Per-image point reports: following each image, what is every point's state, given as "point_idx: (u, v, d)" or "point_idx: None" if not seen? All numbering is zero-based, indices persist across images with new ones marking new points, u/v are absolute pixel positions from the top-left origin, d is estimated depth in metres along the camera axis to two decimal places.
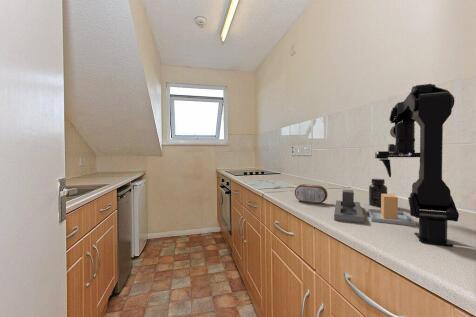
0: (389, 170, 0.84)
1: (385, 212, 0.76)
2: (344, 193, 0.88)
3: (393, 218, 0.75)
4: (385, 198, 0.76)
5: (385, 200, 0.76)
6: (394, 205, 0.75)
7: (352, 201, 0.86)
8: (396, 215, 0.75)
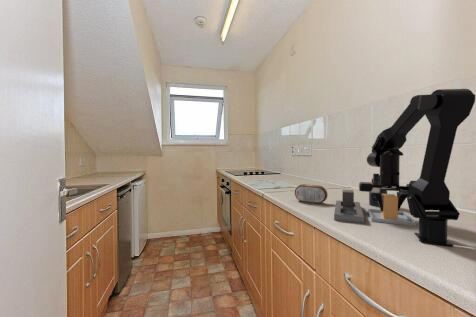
0: (381, 204, 0.78)
1: (385, 212, 0.76)
2: (344, 193, 0.88)
3: (393, 218, 0.75)
4: (385, 198, 0.76)
5: (385, 200, 0.76)
6: (394, 205, 0.75)
7: (352, 201, 0.86)
8: (396, 215, 0.75)
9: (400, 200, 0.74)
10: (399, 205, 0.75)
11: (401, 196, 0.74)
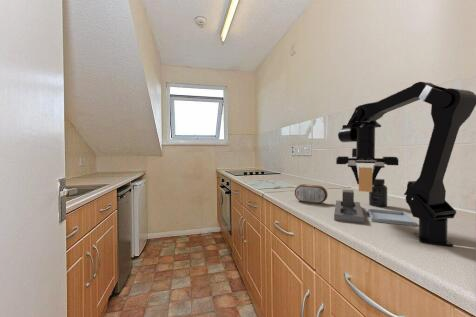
0: (356, 177, 0.78)
1: (360, 184, 0.77)
2: (344, 193, 0.88)
3: (368, 189, 0.76)
4: (360, 170, 0.77)
5: (360, 172, 0.77)
6: (369, 177, 0.75)
7: (352, 201, 0.86)
8: (371, 186, 0.75)
9: (375, 171, 0.75)
10: (374, 177, 0.76)
11: (375, 167, 0.75)
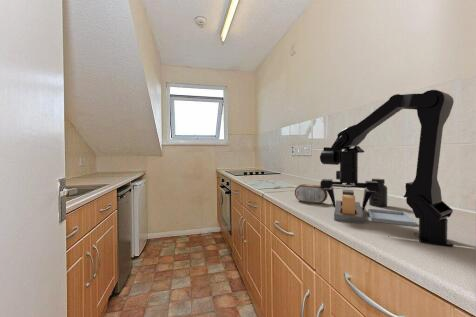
0: (333, 200, 0.80)
1: None
2: (344, 193, 0.88)
3: None
4: (343, 199, 0.77)
5: (343, 201, 0.77)
6: (352, 206, 0.76)
7: None
8: None
9: (366, 197, 0.75)
10: (365, 202, 0.75)
11: (366, 193, 0.74)
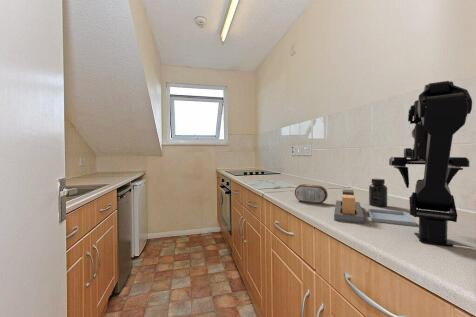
0: (407, 179, 0.71)
1: None
2: (344, 193, 0.88)
3: None
4: (343, 199, 0.77)
5: (343, 201, 0.77)
6: (352, 206, 0.76)
7: None
8: None
9: (450, 174, 0.66)
10: (448, 180, 0.66)
11: (452, 169, 0.65)
